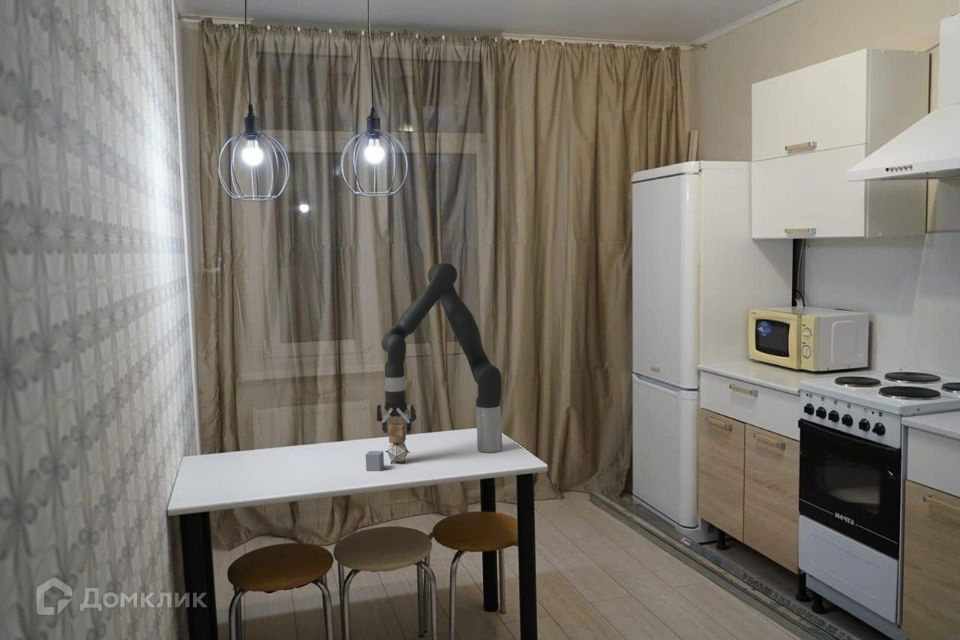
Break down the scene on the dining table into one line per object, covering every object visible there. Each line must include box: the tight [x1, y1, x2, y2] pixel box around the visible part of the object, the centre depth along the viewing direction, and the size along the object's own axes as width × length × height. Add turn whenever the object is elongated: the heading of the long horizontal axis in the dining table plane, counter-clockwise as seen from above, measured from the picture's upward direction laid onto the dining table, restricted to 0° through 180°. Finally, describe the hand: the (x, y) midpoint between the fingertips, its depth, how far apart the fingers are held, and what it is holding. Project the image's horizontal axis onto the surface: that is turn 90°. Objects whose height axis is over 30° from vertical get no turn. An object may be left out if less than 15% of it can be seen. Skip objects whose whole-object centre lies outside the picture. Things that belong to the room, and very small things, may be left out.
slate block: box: [365, 450, 385, 472], centre depth 269 cm, size 5×5×6 cm
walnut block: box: [387, 422, 407, 444], centre depth 276 cm, size 5×5×6 cm
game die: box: [384, 440, 411, 464], centre depth 276 cm, size 9×8×10 cm
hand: (397, 432), depth 276 cm, fingers open, 8 cm apart
